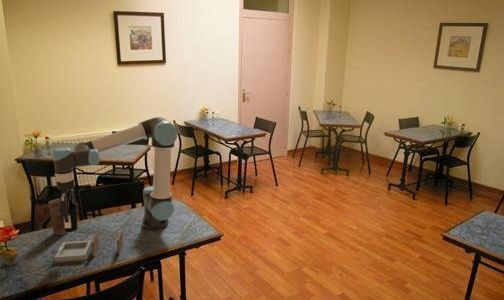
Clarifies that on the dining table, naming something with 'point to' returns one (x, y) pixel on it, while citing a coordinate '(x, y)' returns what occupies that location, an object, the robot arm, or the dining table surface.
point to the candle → (56, 217)
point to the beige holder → (96, 243)
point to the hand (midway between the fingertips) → (70, 223)
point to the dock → (73, 251)
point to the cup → (71, 218)
